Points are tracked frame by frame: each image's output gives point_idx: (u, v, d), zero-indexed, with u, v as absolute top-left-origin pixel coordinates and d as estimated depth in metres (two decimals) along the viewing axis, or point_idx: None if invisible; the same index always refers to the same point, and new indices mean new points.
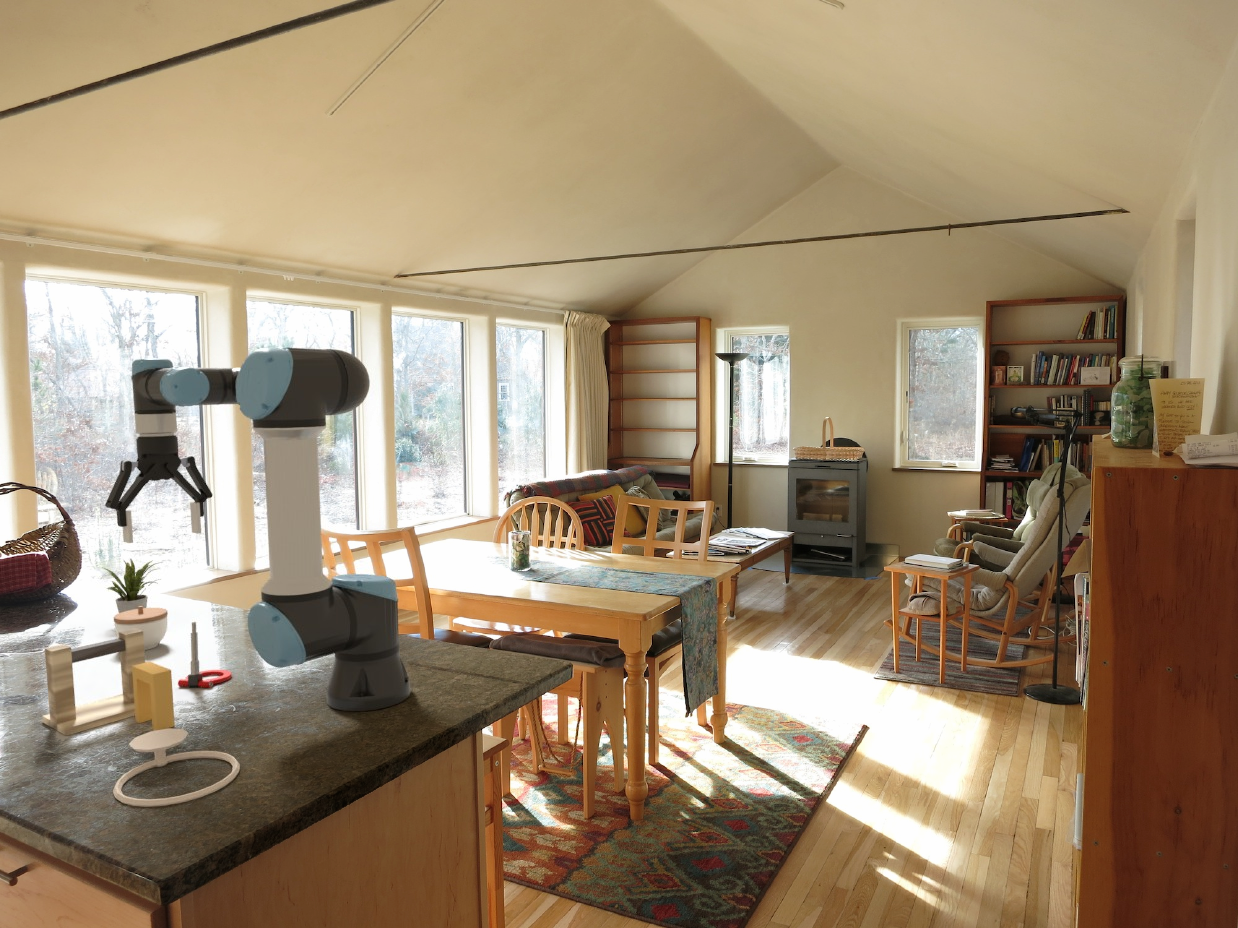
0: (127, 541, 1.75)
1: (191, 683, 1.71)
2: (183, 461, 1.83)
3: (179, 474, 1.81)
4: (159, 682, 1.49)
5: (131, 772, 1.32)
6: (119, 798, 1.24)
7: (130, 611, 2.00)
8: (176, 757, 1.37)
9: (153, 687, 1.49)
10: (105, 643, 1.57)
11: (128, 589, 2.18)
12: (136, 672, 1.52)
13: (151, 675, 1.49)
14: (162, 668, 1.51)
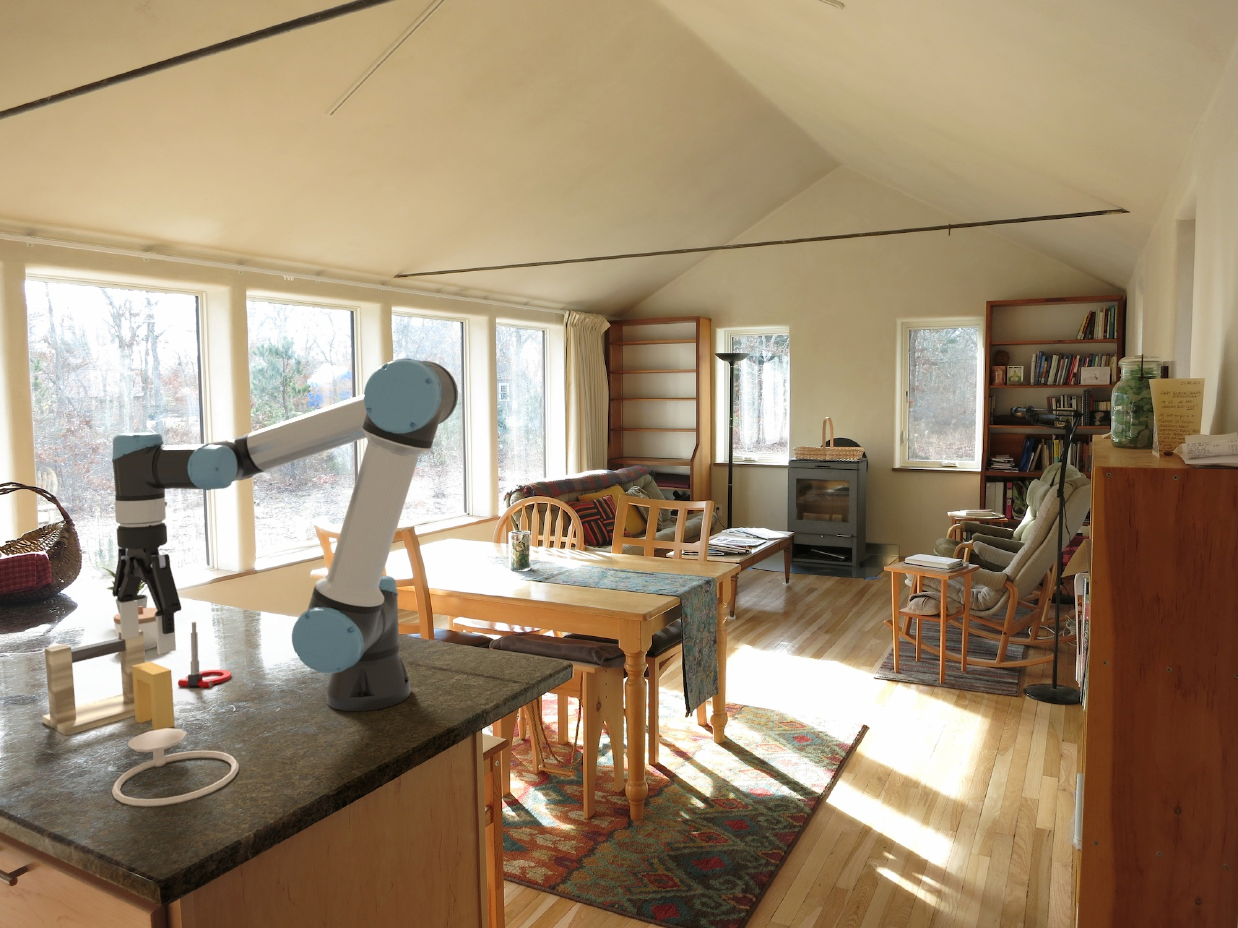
0: None
1: (191, 683, 1.71)
2: None
3: (142, 575, 1.47)
4: (159, 682, 1.49)
5: (130, 772, 1.32)
6: (118, 798, 1.24)
7: None
8: (174, 757, 1.37)
9: (153, 687, 1.49)
10: (105, 643, 1.57)
11: None
12: (136, 672, 1.52)
13: (151, 675, 1.49)
14: (162, 668, 1.51)
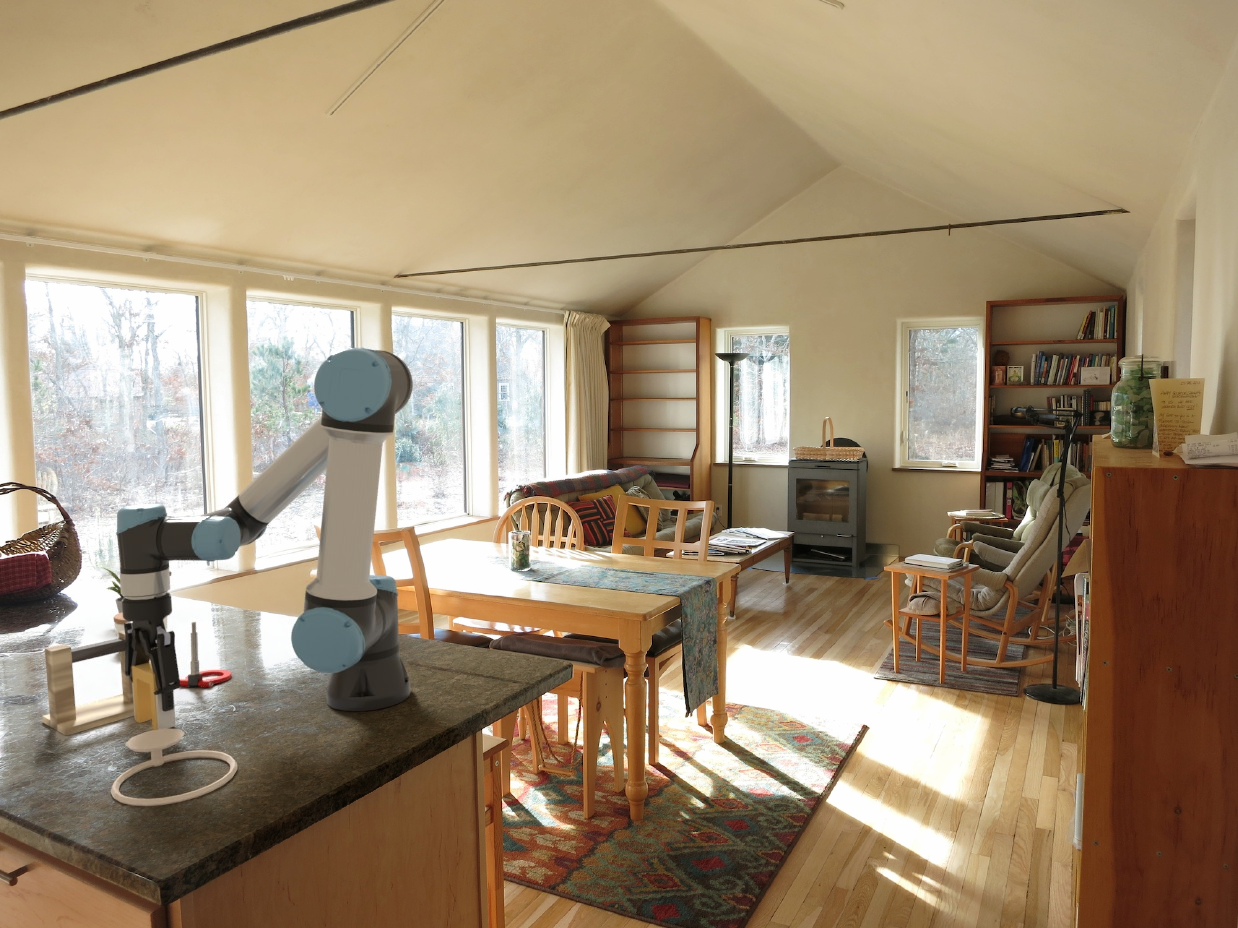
0: None
1: (191, 683, 1.71)
2: None
3: (146, 649, 1.49)
4: None
5: (128, 772, 1.32)
6: (117, 798, 1.24)
7: None
8: (172, 757, 1.37)
9: (153, 687, 1.49)
10: (105, 643, 1.57)
11: None
12: (136, 672, 1.52)
13: (151, 675, 1.49)
14: None
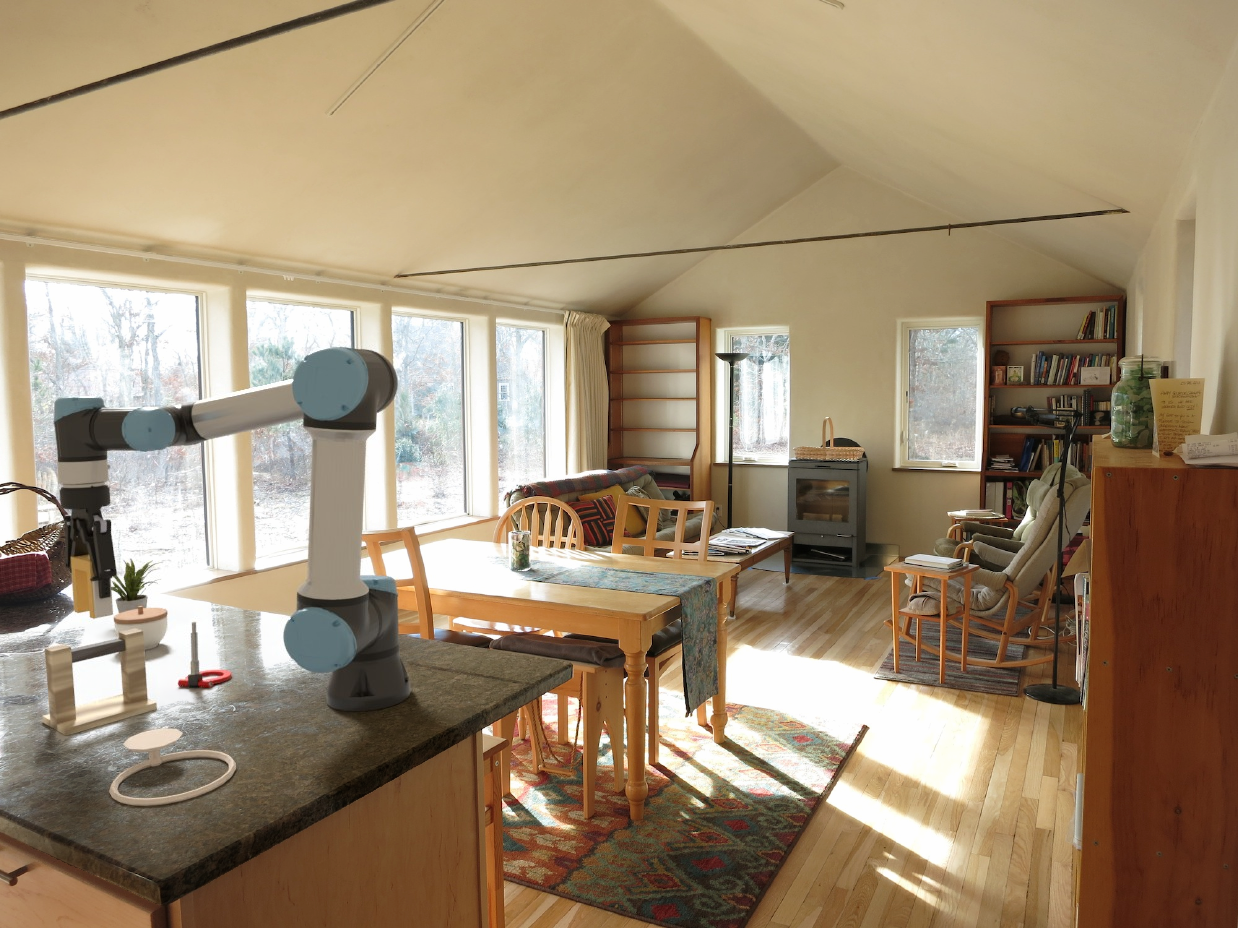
0: None
1: (191, 683, 1.71)
2: None
3: (83, 537, 1.51)
4: None
5: (126, 772, 1.32)
6: (116, 798, 1.24)
7: (130, 611, 2.00)
8: (170, 757, 1.37)
9: (90, 574, 1.51)
10: (105, 643, 1.57)
11: (128, 589, 2.18)
12: (74, 562, 1.55)
13: (88, 563, 1.51)
14: None
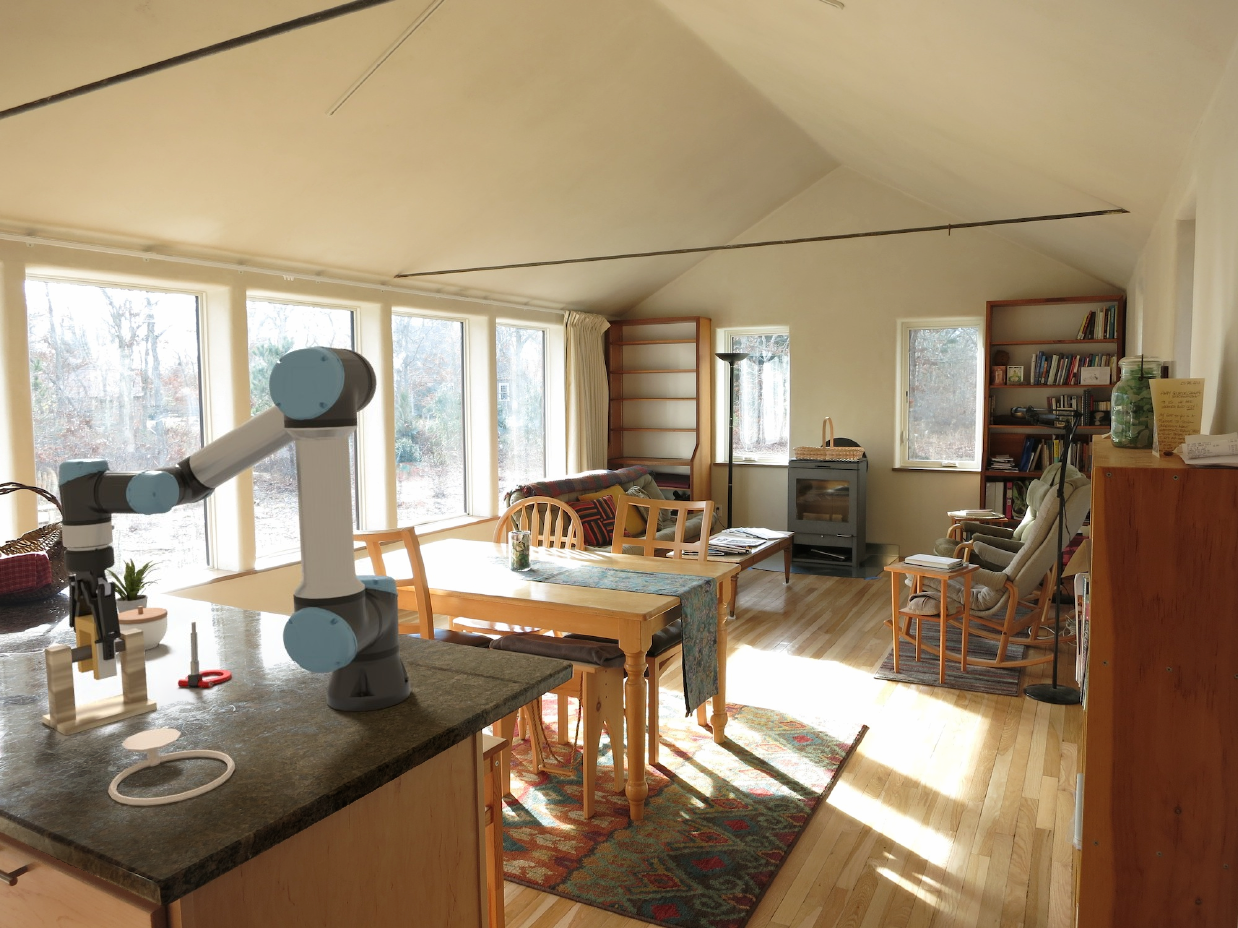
0: None
1: (191, 683, 1.71)
2: None
3: (88, 599, 1.52)
4: None
5: (125, 772, 1.32)
6: (116, 798, 1.24)
7: (130, 611, 2.00)
8: (169, 757, 1.37)
9: (94, 636, 1.52)
10: None
11: (128, 589, 2.18)
12: (78, 623, 1.56)
13: (92, 625, 1.52)
14: None
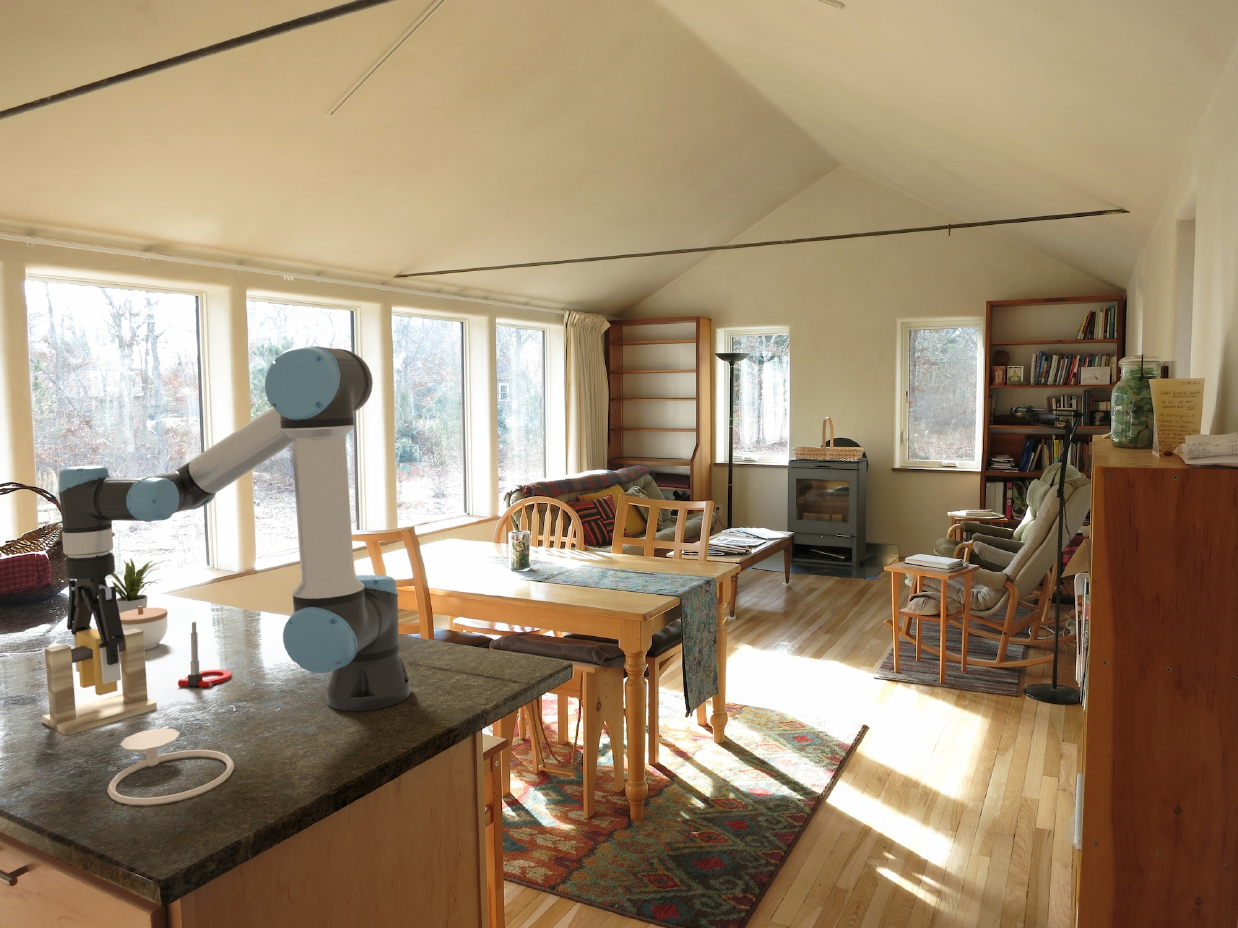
0: None
1: (191, 683, 1.71)
2: None
3: (89, 605, 1.52)
4: None
5: (123, 772, 1.32)
6: (115, 798, 1.24)
7: (130, 611, 2.00)
8: (167, 757, 1.37)
9: (96, 651, 1.52)
10: None
11: (128, 589, 2.18)
12: (80, 638, 1.56)
13: (93, 640, 1.52)
14: None
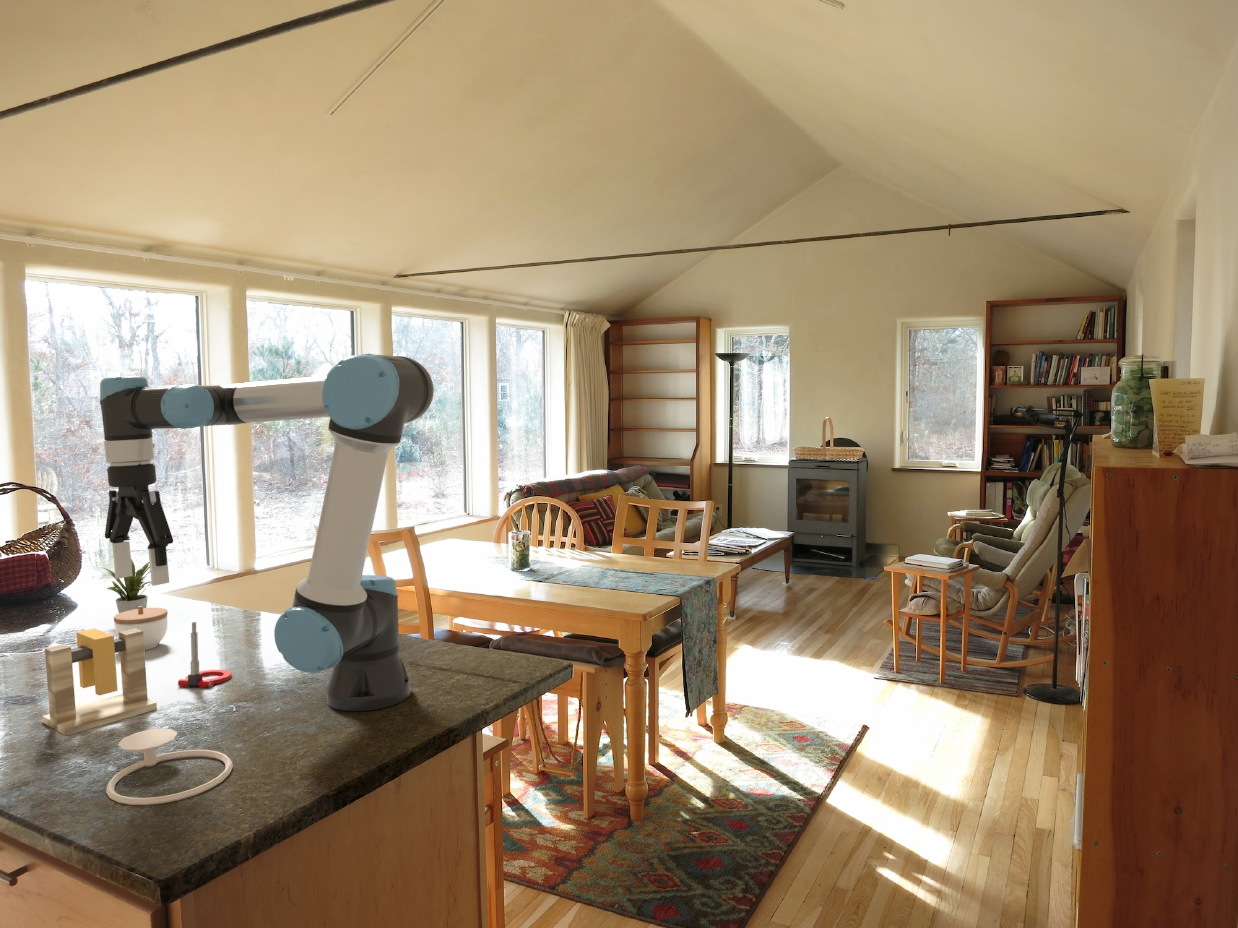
0: None
1: (191, 683, 1.71)
2: None
3: (134, 511, 1.54)
4: (101, 647, 1.53)
5: (122, 773, 1.32)
6: (114, 798, 1.24)
7: (130, 611, 2.00)
8: (165, 757, 1.37)
9: (96, 651, 1.52)
10: None
11: (128, 589, 2.18)
12: (80, 638, 1.56)
13: (93, 640, 1.52)
14: (105, 634, 1.55)
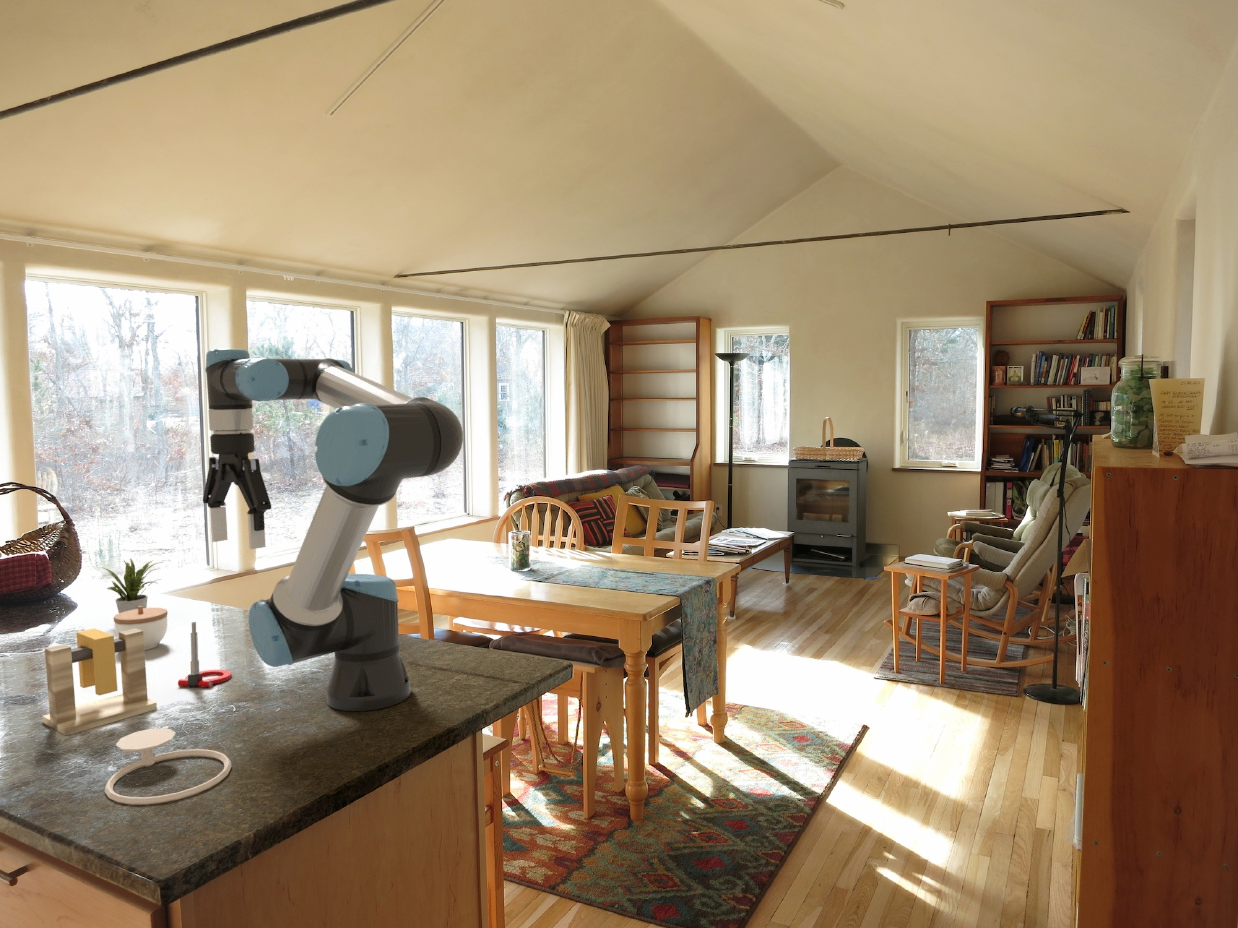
0: None
1: (191, 683, 1.71)
2: None
3: (235, 478, 1.61)
4: (101, 647, 1.53)
5: (120, 773, 1.32)
6: (113, 797, 1.24)
7: (130, 611, 2.00)
8: (163, 756, 1.37)
9: (96, 651, 1.52)
10: None
11: (128, 589, 2.18)
12: (80, 638, 1.56)
13: (93, 640, 1.52)
14: (105, 634, 1.55)
